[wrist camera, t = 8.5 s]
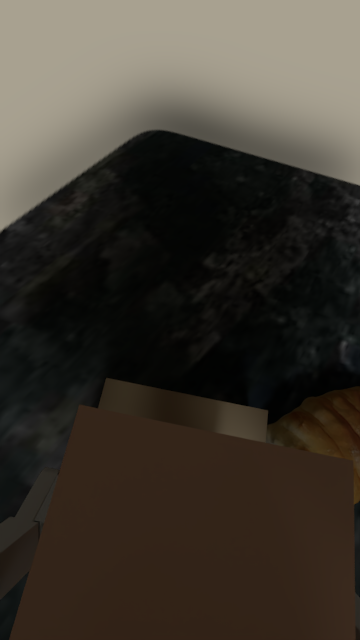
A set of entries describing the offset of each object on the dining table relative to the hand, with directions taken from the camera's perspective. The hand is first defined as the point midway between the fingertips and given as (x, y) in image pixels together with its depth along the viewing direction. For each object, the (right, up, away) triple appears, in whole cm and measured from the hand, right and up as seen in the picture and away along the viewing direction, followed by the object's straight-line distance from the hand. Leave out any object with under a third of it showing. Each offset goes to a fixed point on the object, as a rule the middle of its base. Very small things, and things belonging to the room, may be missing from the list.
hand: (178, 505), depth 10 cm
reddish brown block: (0, -2, +4) cm, 4 cm away
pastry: (+10, -3, +12) cm, 16 cm away
